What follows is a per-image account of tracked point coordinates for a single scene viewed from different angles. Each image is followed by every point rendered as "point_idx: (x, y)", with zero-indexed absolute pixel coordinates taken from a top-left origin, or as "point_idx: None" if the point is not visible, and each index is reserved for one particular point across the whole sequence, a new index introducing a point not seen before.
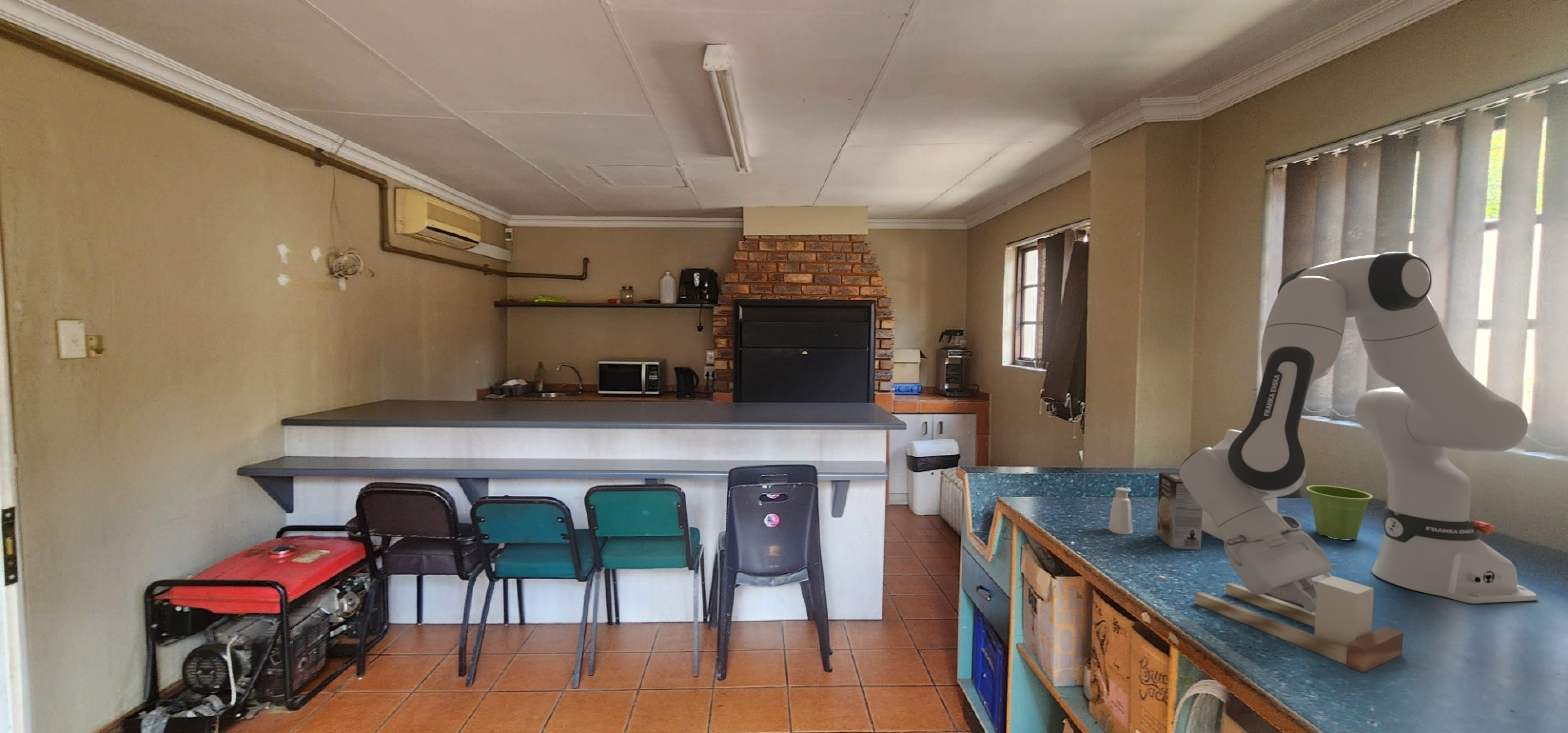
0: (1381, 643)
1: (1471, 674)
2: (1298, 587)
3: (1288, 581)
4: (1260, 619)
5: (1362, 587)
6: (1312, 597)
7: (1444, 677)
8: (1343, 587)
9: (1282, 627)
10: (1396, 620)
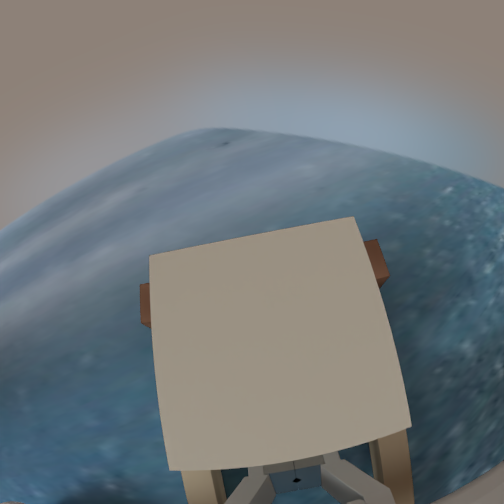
0: None
1: (135, 219)
2: (384, 498)
3: (477, 484)
4: (412, 492)
5: (204, 277)
6: (270, 487)
7: (198, 221)
8: (336, 310)
9: (406, 444)
10: (14, 391)
